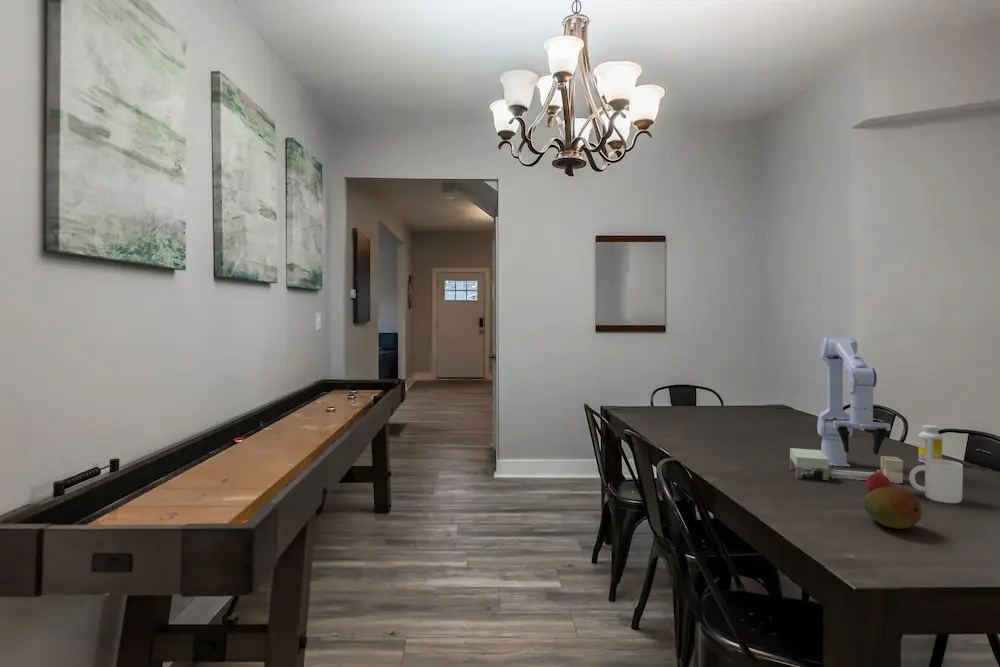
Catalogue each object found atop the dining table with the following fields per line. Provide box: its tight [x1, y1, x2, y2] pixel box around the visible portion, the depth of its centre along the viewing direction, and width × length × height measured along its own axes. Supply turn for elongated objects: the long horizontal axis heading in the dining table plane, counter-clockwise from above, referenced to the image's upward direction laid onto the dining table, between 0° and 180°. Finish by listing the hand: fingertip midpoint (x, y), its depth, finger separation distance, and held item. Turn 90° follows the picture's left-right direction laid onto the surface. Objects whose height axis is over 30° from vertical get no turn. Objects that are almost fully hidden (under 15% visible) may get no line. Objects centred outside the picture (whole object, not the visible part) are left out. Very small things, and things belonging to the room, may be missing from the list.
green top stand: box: [789, 447, 830, 482], centre depth 185 cm, size 13×9×7 cm
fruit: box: [863, 485, 923, 530], centre depth 139 cm, size 12×12×10 cm
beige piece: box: [829, 455, 904, 484], centre depth 180 cm, size 5×20×7 cm, turn 71°
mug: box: [908, 459, 964, 504], centre depth 161 cm, size 12×8×10 cm
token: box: [801, 467, 815, 477], centre depth 186 cm, size 5×5×2 cm
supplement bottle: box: [917, 424, 943, 464], centre depth 200 cm, size 7×7×13 cm
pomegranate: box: [865, 469, 892, 493], centre depth 161 cm, size 6×6×8 cm
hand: (860, 452), depth 172 cm, fingers open, 7 cm apart
